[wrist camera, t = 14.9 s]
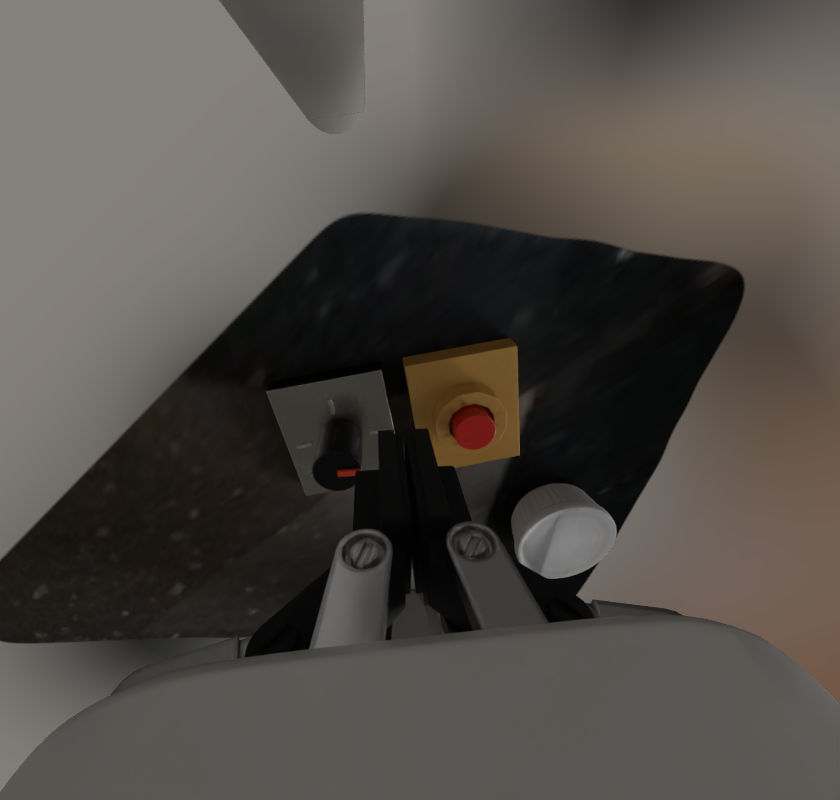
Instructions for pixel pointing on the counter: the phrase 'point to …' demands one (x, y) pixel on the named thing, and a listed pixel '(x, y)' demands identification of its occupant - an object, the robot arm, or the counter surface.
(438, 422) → the knob block
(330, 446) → the dial
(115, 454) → the counter surface
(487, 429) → the press knob
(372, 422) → the dial plate
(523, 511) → the ramekin
